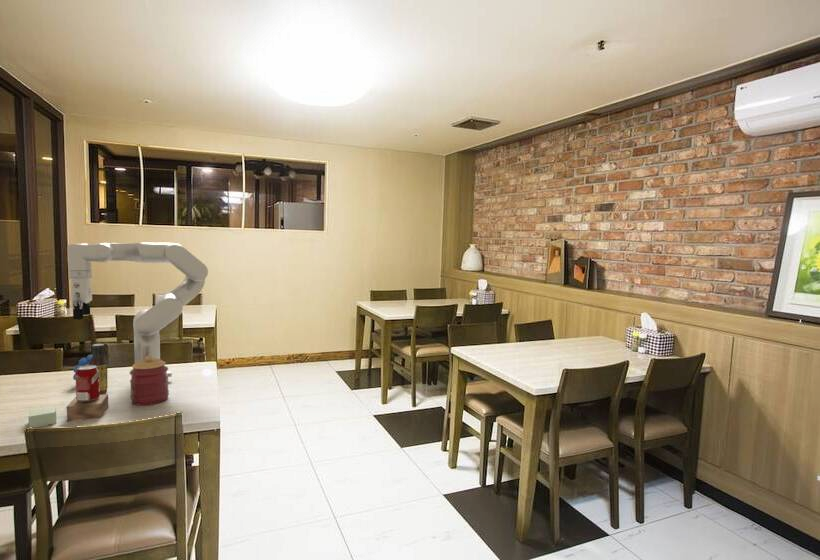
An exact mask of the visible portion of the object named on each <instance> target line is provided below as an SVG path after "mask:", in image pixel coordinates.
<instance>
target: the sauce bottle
mask: <svg viewBox="0 0 820 560" xmlns="http://www.w3.org/2000/svg"><path fill="white" fill-rule="evenodd" d="M91 349H92V354H91V355H92V356H93V357H92V358H91V359H90V362H89V365H96V368H97V369H98V370H99V390H100V395H103V394H107V392H108V368H109V367H108V361H107V358H106V356H105V352H104V350H105V344H104V343H95V344H92V345H91Z"/></svg>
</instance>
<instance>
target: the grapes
mask: <svg viewBox="0 0 820 560" xmlns="http://www.w3.org/2000/svg"><path fill="white" fill-rule="evenodd" d="M92 357H93V356H92V354H88V355H87V356H86V357H82V358H80V359H79V360H78V365H75V366H74V367H73V369H72V371H73V373H74V375H72V376H73V377H72V379H73V380H74V381H76V376H75V373H76V372H77V370H78V369H77V368H78V367H80V366H85V365H89V362H90V359H91V358H92Z"/></svg>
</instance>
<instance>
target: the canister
mask: <svg viewBox="0 0 820 560" xmlns="http://www.w3.org/2000/svg"><path fill="white" fill-rule="evenodd" d="M166 364H167V363H166V361H164V360H163V359H161V358H160V359H156V358H153V357H152V356H151V355H148V356H146V357H145V359H144V360H140V361H137V362H136V363H135V362H134V364H132V366H131V367H132V369H131V370H130V371H129V375H130V376H131V377H130V380H129V382H130V402H131V403H132V404H133V405H135V406H148V405H154V404H159V403H162V402H164V401H166V400H168V399H169V394H170V393H169V392H170V391H169V377H168V375H167V372H168V370H169V367H168V366H167V365H166Z"/></svg>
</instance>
